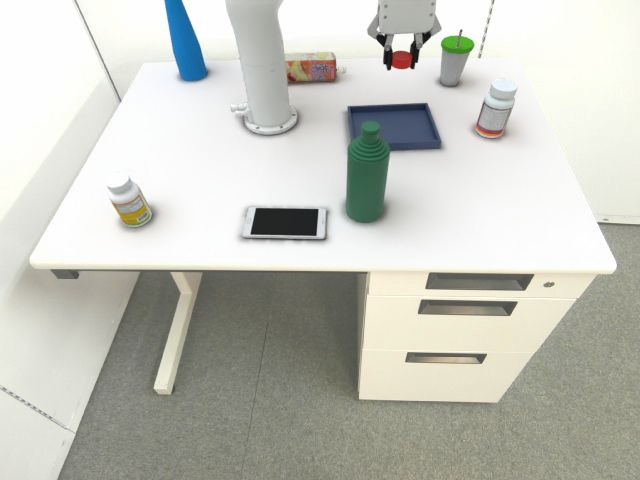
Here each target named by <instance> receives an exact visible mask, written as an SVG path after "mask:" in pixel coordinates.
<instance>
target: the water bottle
mask: <svg viewBox="0 0 640 480" xmlns="http://www.w3.org/2000/svg"><path fill="white" fill-rule="evenodd" d="M379 132H380V126H379V124H378V123H377V122H374V121H367V122H364V123H363V124H362V126H361V136H359V137H357V138H355V139H354V140H353V141H352V142H351V141H350V143H349V144H348V146H347V153H346V154H347V155H346V190H345V191H346V193H345V212H346V214H347V216H348V217H349V218H350V219H351V220H353V221H355V222H357V223H361V224H369V223H373V222H376V221H377V220H379V219H380V218H381V216H382V215H383V212H384V206H385V205H384V203H385V196H386V188H387V182H388V181H387V179H388V173H389V167H390V166H389V165H390V164H389V163H390V158H391V151H390V147H389V145H388V143H387V142H386V141H385V140H383V139H382V138H381V137H379Z"/></svg>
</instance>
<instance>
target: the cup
mask: <svg viewBox="0 0 640 480" xmlns="http://www.w3.org/2000/svg"><path fill="white" fill-rule="evenodd" d="M462 34H463V29H459V32H458V35H449V36H445V37H444V38H442V40H441V42H440V47H441V58H440V59H441V60H440V75H439V83H440V85H442V86H444V87H448V88H453V87H456V86H458V84H459V82H460V79H461V77H462V74H463V72H464V69H465V67H466V65H467V62H468V59H469V57H470V54H471V52H472V51H473V50H474V48H475V46H476V45H475V42H474V40H473V39H471V38H469V37H467V36H462Z"/></svg>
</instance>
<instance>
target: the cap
mask: <svg viewBox="0 0 640 480" xmlns="http://www.w3.org/2000/svg"><path fill="white" fill-rule="evenodd" d="M411 62H412V54H411V53H410V51H406V50H396V51H393V56H392V65H391V68H394V69H397V70H408V69H409V68H410V66H411Z"/></svg>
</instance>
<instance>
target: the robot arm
mask: <svg viewBox="0 0 640 480" xmlns="http://www.w3.org/2000/svg"><path fill="white" fill-rule="evenodd" d="M283 2H284V0H225V8H226V13H227V15H228V19H229V22H230V25H231V28H232V30H233V34H234V38H235V42H236V48H237V52H238V56H239V57H238V58H239V61H240V67H241V72H242V77H243V83H244V89H245V93H246V94H245V95H246V100H247V101H244V102H243V103H230V111H231V113H234V117H235V118H240V117H244V123H245V126H246V128H247V129H248V130H249V131H251V132H253V133H254V134H258V135H265V136H269V135H270V136H272V135H278V134H283V133H285V132H287V131H289V130H290V129H292V128H293V127H295V125H296V124H297V122H298V112H297V109H295V107H293V106H292V105H291V104H290V94H289V93H290V92H289V84H288V83H289V82H287V73H286V63H285V45H284V44H285V43H284V38H283V33H282V29H281V24H280V21H279V9H280V7H281V5H282V3H283ZM436 9H437V0H378V1H377V9H376V15H375V16H374V17H373V19H372V21H371V22H370V24H369V25H368V26H367V28H366V33H367V35H368V36H369V37H371V38H372V39H374V40H376V41H377V42H378V43H379V44H380V45H381V47H382V48H383V55H382V56H383V57H382V64H383V65H385V68H386V71H387V72H389V71H391V70H392V66H391V65H392V56H393V52H394V51H393V45H392V44H393V42H394V41H393V40H394V37H395V35H406V34H408V35H409V34H412V35H413V41H412V42H411V44H410V47H409V53H411V54H412V62H411V66H410V67H409V68H410V69H411V70H415V68H416V64H418V63H419V57H420V53H421V52H420V51H421V49H422V48H423V46H424V45H425V44H426V43H427V42H428V41H429V40H430V39H431V37H434V36H435V35H437V34H439V33H440V32H441V31H442V29H443V28H442V25H441V23H440V21H439V19H438V17H437V15H436ZM410 69H409V70H410Z"/></svg>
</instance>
